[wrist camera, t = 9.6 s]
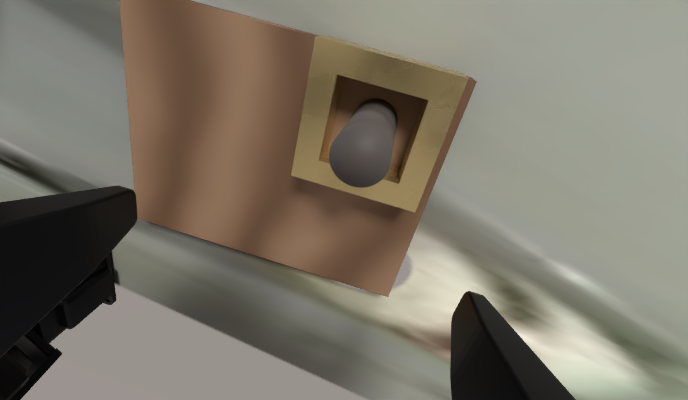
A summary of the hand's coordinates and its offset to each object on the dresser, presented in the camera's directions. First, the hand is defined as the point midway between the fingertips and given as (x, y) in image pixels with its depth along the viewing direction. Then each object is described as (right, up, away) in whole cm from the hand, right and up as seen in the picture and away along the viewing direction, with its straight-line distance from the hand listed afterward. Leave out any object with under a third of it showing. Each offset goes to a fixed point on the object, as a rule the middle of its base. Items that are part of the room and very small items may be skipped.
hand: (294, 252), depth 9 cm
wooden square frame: (+3, +5, +8) cm, 10 cm away
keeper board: (-3, +4, +12) cm, 13 cm away
